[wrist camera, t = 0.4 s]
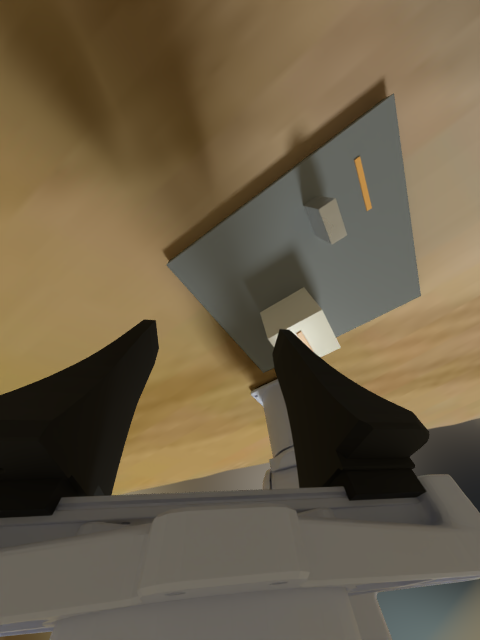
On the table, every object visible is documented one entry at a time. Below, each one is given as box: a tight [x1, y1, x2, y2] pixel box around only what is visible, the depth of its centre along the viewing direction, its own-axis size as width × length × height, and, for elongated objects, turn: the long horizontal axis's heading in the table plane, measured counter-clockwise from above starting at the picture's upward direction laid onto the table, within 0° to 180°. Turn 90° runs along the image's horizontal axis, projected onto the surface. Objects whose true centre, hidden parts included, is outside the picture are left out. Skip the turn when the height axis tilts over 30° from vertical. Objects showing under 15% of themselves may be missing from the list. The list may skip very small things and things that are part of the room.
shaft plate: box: [167, 94, 421, 373], centre depth 19 cm, size 18×20×4 cm
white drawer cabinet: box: [260, 287, 341, 357], centre depth 20 cm, size 5×5×5 cm
